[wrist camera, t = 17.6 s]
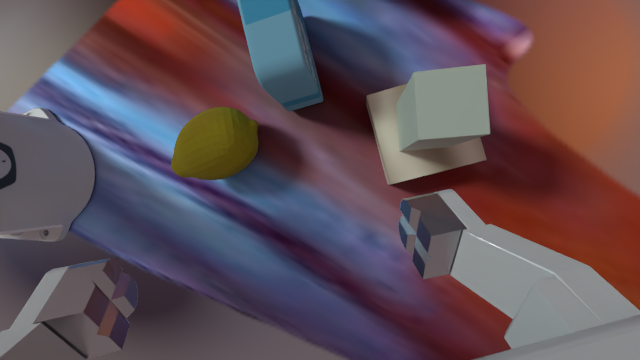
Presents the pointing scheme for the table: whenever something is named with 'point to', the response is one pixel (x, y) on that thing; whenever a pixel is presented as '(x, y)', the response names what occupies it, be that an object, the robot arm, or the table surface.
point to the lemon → (215, 144)
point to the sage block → (443, 108)
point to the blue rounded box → (281, 51)
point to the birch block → (412, 161)
